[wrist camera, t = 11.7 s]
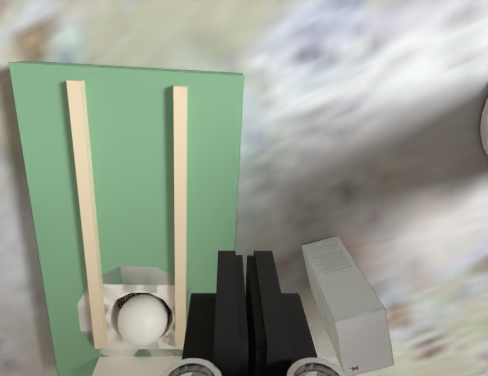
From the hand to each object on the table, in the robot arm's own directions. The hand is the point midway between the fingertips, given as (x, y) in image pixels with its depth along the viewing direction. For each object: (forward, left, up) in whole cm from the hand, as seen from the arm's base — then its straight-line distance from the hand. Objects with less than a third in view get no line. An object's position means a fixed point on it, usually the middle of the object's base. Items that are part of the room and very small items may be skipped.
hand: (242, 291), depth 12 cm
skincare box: (-11, +14, -25) cm, 30 cm away
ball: (+8, +20, -22) cm, 30 cm away
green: (+8, +11, -24) cm, 28 cm away
